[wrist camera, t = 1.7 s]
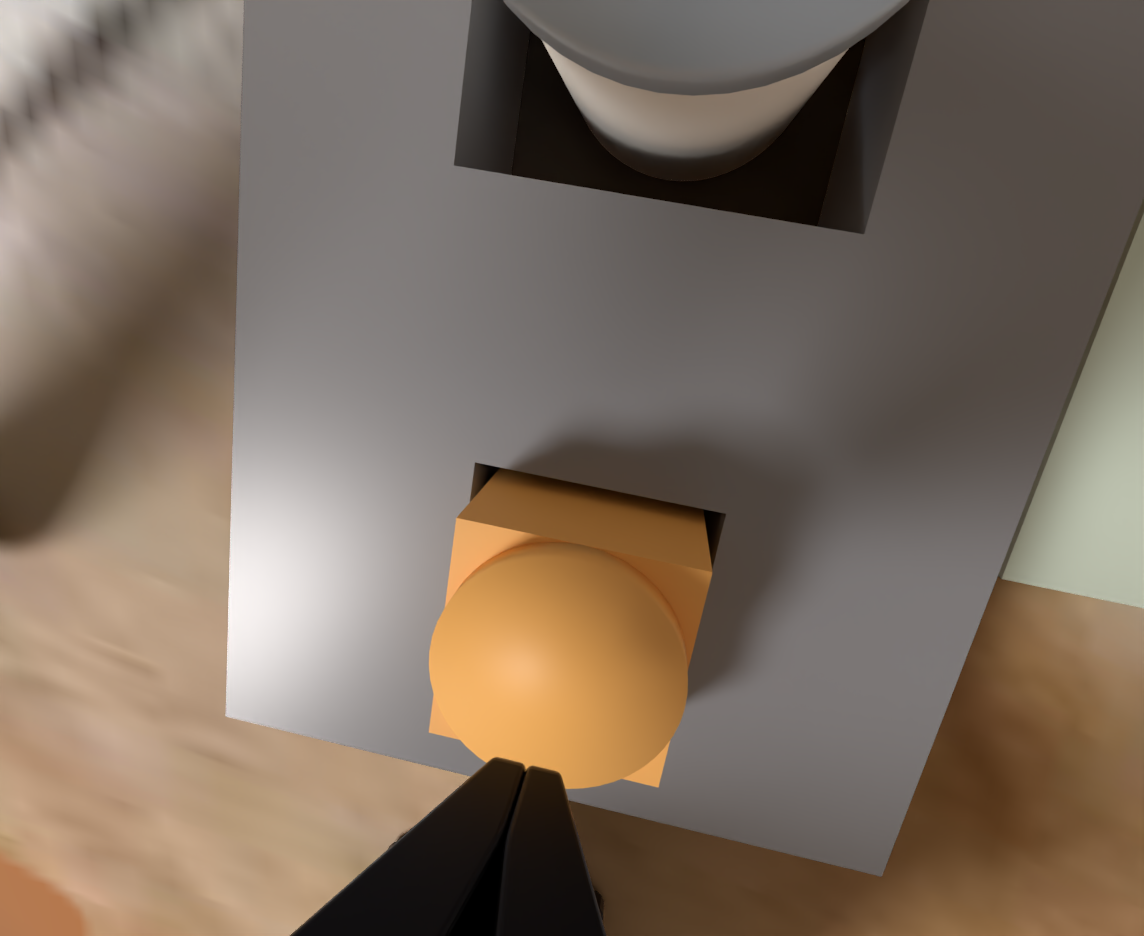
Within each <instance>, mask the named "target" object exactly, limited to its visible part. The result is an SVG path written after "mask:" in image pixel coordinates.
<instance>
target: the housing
mask: <svg viewBox="0 0 1144 936" xmlns="http://www.w3.org/2000/svg"><path fill="white" fill-rule="evenodd" d="M529 37H530V29H529V28H528V27H527V26H526V25H525V24H524V23H523V22H522V21H521V20H520V19H519V18H518V17H517V16H516V15H515V14H514V13H513V12H512V11H511V10H510V9H509V8H508V6H507V5H506V4H505V2H504V1H503V0H244V24H243V63H242V101H241V140H240V179H239V218H238V257H237V296H236V335H235V374H234V413H233V451H232V490H231V529H230V568H229V607H228V646H227V685H226V717H230V718H234V719H238V720H242V721H246V722H250V723H254V724H258V725H263V726H267V727H271V728H275V729H279V730H283V731H287V732H291V733H295V734H299V735H303V736H308V737H312V738H316V739H320V740H324V741H328V742H332V743H336V744H340V745H344V746H349V747H353V748H357V749H361V750H365V751H369V752H373V753H377V754H381V755H385V756H389V757H394V758H398V759H402V760H406V761H410V762H414V763H418V764H422V765H426V766H430V767H434V768H439V769H443V770H447V771H451V772H455V773H459V774H463V775H467V776H472V775H473V774H475V773H476V772H477V771H478V770H479V769H480V768H481V767H482V766H484V765H485V764H486V762H484V761H483V760H482V759H480V758H479V757H477V756H476V755H475V754H474V753H473V752H472V751H471V750H470V749H468V748H467V747H466V746H465V745H464V744H463V743H462V741H461V740H458V739H454V738H450V737H446V736H442V735H437V734H433V733H429V726H430V718H431V711H432V703H433V695H434V694H433V689H432V685H431V681H430V672H429V650H430V645H431V640H432V635H433V632H434V629H435V627H436V624H437V621H438V619H439V618H440V616H441V614H442V612H443V610H444V608H445V602H446V594H447V586H448V578H449V571H450V563H451V555H452V547H453V539H454V532H455V524H456V518H457V516H458V515H459V514H460V513H461V512H462V511H463V510H464V509H465V507H466V506H467V505H468V504H469V503H470V502H471V501H472V499H473V498H474V497H475V496H476V495H477V494H478V493H479V492H480V490H481V489H482V488H483V487H484V486H485V485H486V484H487V482H488V481H489V480H490V479H491V478H492V477H493V476H494V474H495V473H496V472H497V471H498V470H499V469H500V468H505V469H510V470H515V471H520V472H525V473H529V474H534V475H539V476H544V477H549V478H554V479H559V480H564V481H568V482H573V483H578V484H583V485H588V486H593V487H598V488H603V489H608V490H612V491H617V492H622V493H627V494H632V495H637V496H642V497H647V498H651V499H656V500H661V501H666V502H671V503H676V504H681V505H686V506H691V507H695V508H700V509H703V511H704V518H705V525H706V531H707V538H708V545H709V552H710V558H711V565H712V572H713V573H712V577H711V581H710V585H709V589H708V592H707V596H706V600H705V604H704V608H703V612H702V616H701V620H700V624H699V628H698V632H697V636H696V640H695V644H694V648H693V652H692V656H691V660H690V664H689V668H688V694H687V699H686V705H685V710H684V713H683V716H682V719H681V721H680V724H679V726H678V728H677V730H676V732H675V733H674V735H673V737H672V738H671V740H670V743H669V747H668V751H667V755H666V759H665V763H664V767H663V771H662V775H661V779H660V783H659V787H654V786H650V785H646V784H641V783H637V782H633V781H629V780H625V779H620V780H617V781H615V782H612V783H608V784H604V785H601V786H596V787H589V788H579V789H565V790H566V793H567V797H568V800H569V801H574V802H578V803H582V804H586V805H590V806H594V807H598V808H602V809H606V810H610V811H614V812H619V813H623V814H627V815H631V816H635V817H639V818H643V819H647V820H651V821H655V822H659V823H664V824H668V825H672V826H676V827H680V828H684V829H688V830H692V831H696V832H700V833H704V834H709V835H713V836H717V837H721V838H725V839H729V840H733V841H737V842H741V843H745V844H749V845H754V846H758V847H762V848H766V849H770V850H774V851H778V852H782V853H786V854H790V855H794V856H799V857H803V858H807V859H811V860H815V861H819V862H823V863H827V864H831V865H835V866H839V867H844V868H848V869H852V870H856V871H860V872H864V873H868V874H872V875H876V876H880V877H882V875H883V872H884V870H885V867H886V864H887V862H888V859H889V857H890V854H891V851H892V849H893V846H894V844H895V841H896V839H897V836H898V833H899V831H900V828H901V826H902V823H903V820H904V818H905V815H906V813H907V810H908V807H909V805H910V802H911V800H912V797H913V794H914V792H915V789H916V787H917V784H918V782H919V779H920V776H921V774H922V771H923V769H924V766H925V763H926V761H927V758H928V756H929V753H930V750H931V748H932V745H933V743H934V740H935V737H936V735H937V732H938V730H939V727H940V725H941V722H942V719H943V717H944V714H945V712H946V709H947V706H948V704H949V701H950V699H951V696H952V693H953V691H954V688H955V686H956V683H957V680H958V678H959V675H960V673H961V670H962V667H963V665H964V662H965V660H966V657H967V655H968V652H969V649H970V647H971V644H972V642H973V639H974V636H975V634H976V631H977V629H978V626H979V623H980V621H981V618H982V616H983V613H984V610H985V608H986V605H987V603H988V600H989V598H990V595H991V592H992V590H993V587H994V585H995V582H996V579H997V577H998V574H999V572H1000V569H1001V566H1002V564H1003V561H1004V559H1005V556H1006V553H1007V551H1008V548H1009V546H1010V543H1011V541H1012V538H1013V535H1014V533H1015V530H1016V528H1017V525H1018V522H1019V520H1020V517H1021V515H1022V512H1023V509H1024V507H1025V504H1026V502H1027V499H1028V496H1029V494H1030V491H1031V489H1032V486H1033V483H1034V481H1035V478H1036V476H1037V473H1038V471H1039V468H1040V465H1041V463H1042V460H1043V458H1044V455H1045V452H1046V450H1047V447H1048V445H1049V442H1050V439H1051V437H1052V434H1053V432H1054V429H1055V426H1056V424H1057V421H1058V419H1059V416H1060V414H1061V411H1062V408H1063V406H1064V403H1065V401H1066V398H1067V395H1068V393H1069V390H1070V388H1071V385H1072V382H1073V380H1074V377H1075V375H1076V372H1077V369H1078V367H1079V364H1080V362H1081V359H1082V357H1083V354H1084V351H1085V349H1086V346H1087V344H1088V341H1089V338H1090V336H1091V333H1092V331H1093V328H1094V325H1095V323H1096V320H1097V318H1098V315H1099V312H1100V310H1101V307H1102V305H1103V302H1104V300H1105V297H1106V294H1107V292H1108V289H1109V287H1110V284H1111V281H1112V279H1113V276H1114V274H1115V271H1116V268H1117V266H1118V263H1119V261H1120V258H1121V255H1122V253H1123V250H1124V248H1125V245H1126V242H1127V240H1128V237H1129V235H1130V232H1131V230H1132V227H1133V224H1134V222H1135V219H1136V217H1137V214H1138V211H1139V209H1140V206H1141V204H1142V201H1143V198H1144V0H910V1H909V2H908V3H907V4H906V5H904V6H903V7H902V8H901V9H900V10H899V11H897V12H896V13H895V14H894V15H893V16H891V17H890V18H889V19H888V20H887V21H886V22H884V23H883V24H882V25H881V26H880V27H878V28H877V29H876V30H875V31H874V32H872V33H871V34H869V35H868V36H866V40H865V44H864V48H863V52H862V56H861V60H860V63H859V67H858V71H857V75H856V79H855V83H854V87H853V90H852V94H851V98H850V102H849V106H848V110H847V114H846V118H845V121H844V125H843V129H842V133H841V137H840V141H839V145H838V148H837V152H836V156H835V160H834V164H833V168H832V172H831V175H830V179H829V183H828V187H827V191H826V195H825V199H824V203H823V206H822V210H821V214H820V218H819V222H818V226H811V225H805V224H799V223H793V222H787V221H781V220H775V219H769V218H763V217H757V216H751V215H745V214H740V213H734V212H728V211H722V210H716V209H710V208H704V207H698V206H692V205H686V204H680V203H674V202H668V201H662V200H656V199H650V198H644V197H638V196H632V195H627V194H621V193H615V192H609V191H603V190H597V189H591V188H585V187H579V186H573V185H567V184H561V183H555V182H549V181H543V180H537V179H531V178H525V177H519V176H513V175H511V173H512V165H513V158H514V150H515V143H516V135H517V128H518V120H519V112H520V105H521V97H522V90H523V82H524V75H525V67H526V60H527V52H528V45H529Z"/></svg>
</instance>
